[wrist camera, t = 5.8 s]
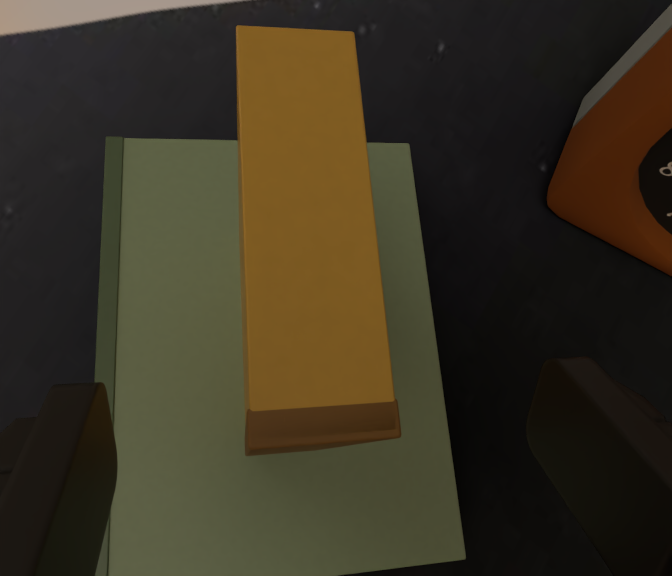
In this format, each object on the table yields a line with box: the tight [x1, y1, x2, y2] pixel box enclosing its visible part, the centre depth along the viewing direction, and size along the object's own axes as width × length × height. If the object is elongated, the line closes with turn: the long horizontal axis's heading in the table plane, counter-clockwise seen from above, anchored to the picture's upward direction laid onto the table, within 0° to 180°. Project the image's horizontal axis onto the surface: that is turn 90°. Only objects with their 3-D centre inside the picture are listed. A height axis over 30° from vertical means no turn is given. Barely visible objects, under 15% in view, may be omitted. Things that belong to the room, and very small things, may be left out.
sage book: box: [94, 137, 466, 576], centre depth 26 cm, size 15×20×3 cm
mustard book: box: [236, 25, 401, 456], centre depth 18 cm, size 3×10×13 cm, turn 5°
